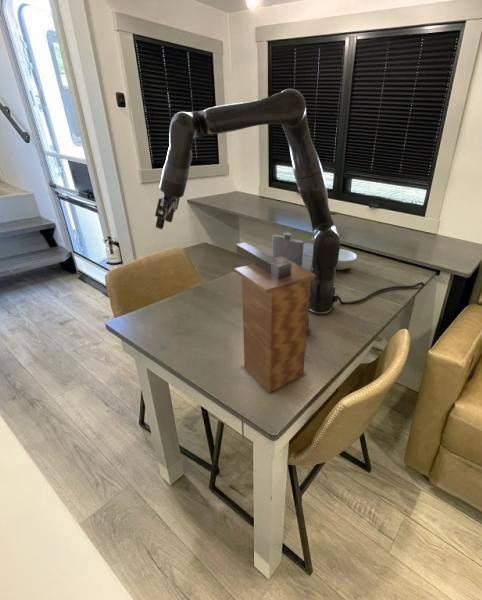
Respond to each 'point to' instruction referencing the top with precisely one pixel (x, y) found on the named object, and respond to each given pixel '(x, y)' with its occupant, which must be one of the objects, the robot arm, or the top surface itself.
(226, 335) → the top surface
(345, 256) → the cereal bowl
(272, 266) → the handle stick
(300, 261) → the hip flask
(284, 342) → the oak stand
